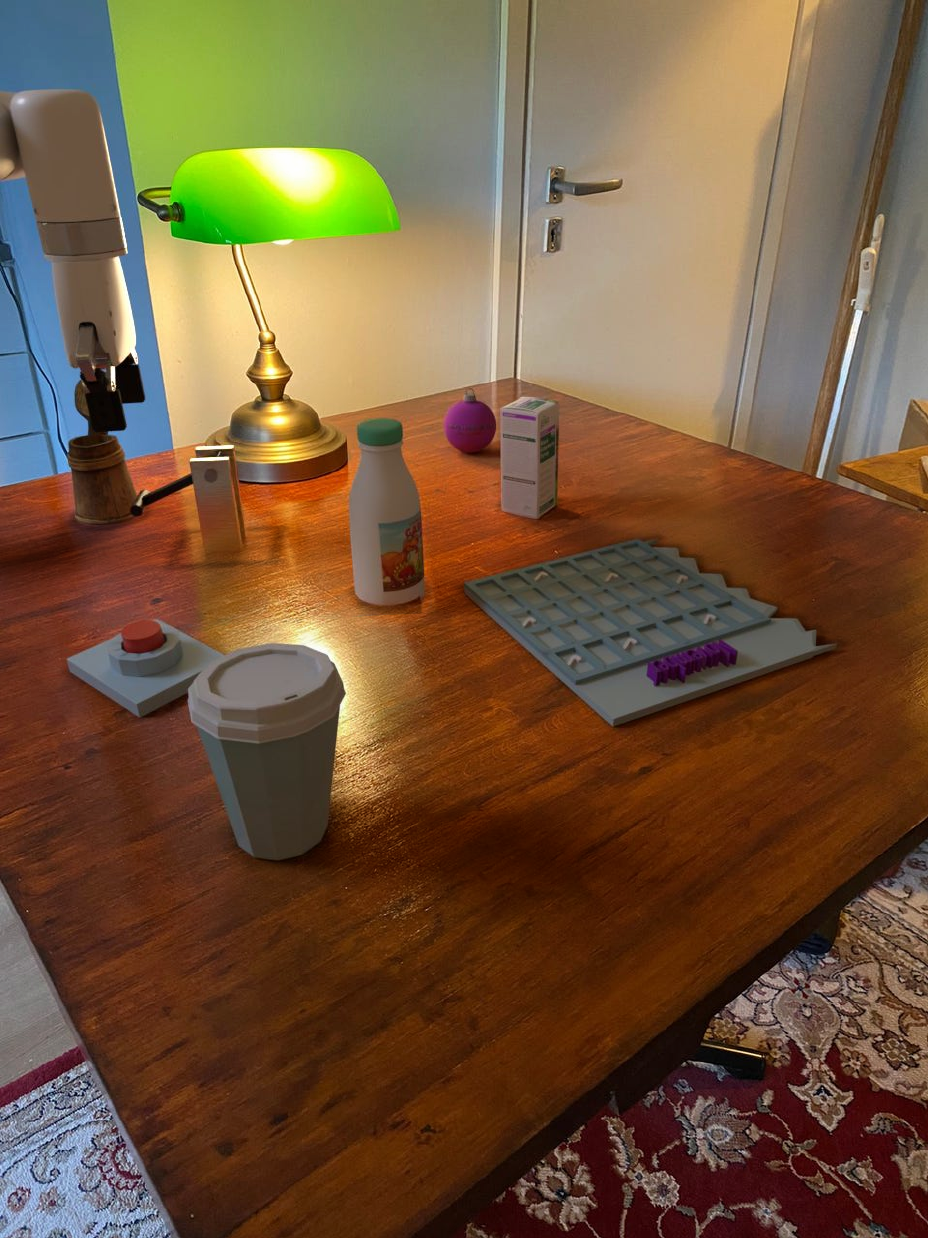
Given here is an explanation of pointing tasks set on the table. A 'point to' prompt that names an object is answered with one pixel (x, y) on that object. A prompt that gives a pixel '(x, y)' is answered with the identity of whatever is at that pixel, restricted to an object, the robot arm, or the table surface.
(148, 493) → the switch
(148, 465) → the table surface
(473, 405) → the christmas ornament
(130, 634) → the button
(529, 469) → the syrup box
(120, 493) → the wooden mug
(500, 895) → the table surface
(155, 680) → the control block
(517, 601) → the calendar
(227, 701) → the disposable coffee cup
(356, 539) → the milk bottle
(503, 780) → the table surface
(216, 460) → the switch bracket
